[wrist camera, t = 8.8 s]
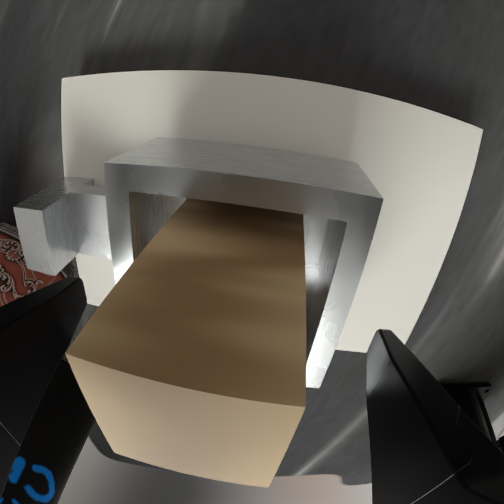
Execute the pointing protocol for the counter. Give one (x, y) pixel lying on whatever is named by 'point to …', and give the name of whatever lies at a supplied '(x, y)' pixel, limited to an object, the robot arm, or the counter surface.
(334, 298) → the bracket
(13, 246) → the lighter
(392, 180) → the bracket board
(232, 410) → the oak rail post
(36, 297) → the robot arm
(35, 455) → the aerosol can
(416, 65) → the counter surface
